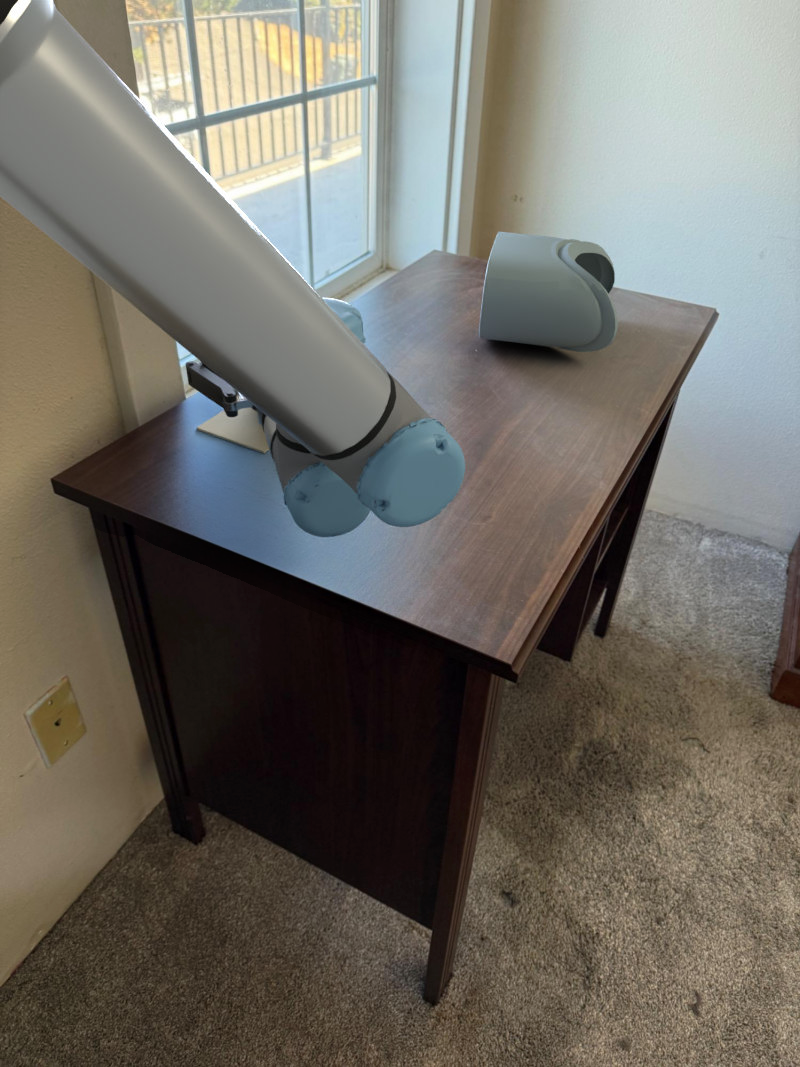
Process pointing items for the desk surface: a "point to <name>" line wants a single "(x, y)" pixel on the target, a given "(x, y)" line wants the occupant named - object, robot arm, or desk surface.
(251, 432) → the mat
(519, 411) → the desk surface
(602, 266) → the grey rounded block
